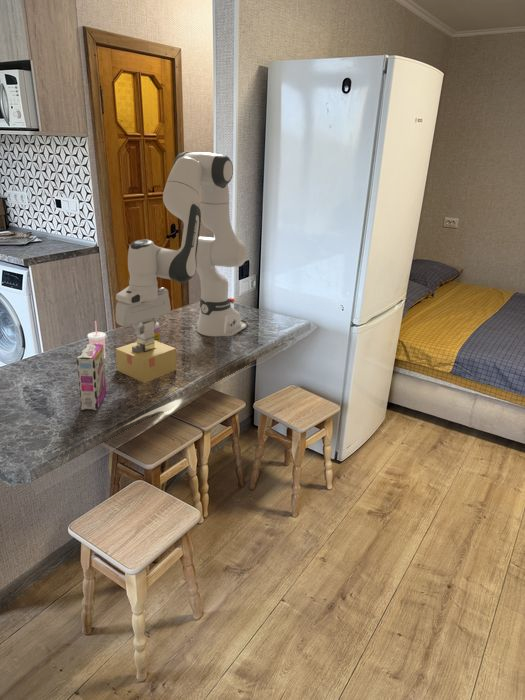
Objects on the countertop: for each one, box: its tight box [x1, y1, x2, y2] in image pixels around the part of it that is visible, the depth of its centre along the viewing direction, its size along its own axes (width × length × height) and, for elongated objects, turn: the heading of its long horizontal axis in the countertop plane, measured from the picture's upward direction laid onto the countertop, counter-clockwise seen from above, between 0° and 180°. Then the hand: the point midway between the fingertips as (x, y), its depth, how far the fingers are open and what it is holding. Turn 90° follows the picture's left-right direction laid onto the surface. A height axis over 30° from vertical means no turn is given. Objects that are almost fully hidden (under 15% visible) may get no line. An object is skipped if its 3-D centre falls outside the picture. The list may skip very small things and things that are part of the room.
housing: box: [115, 340, 177, 384], centre depth 164 cm, size 14×14×10 cm
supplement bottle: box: [150, 319, 161, 343], centre depth 181 cm, size 7×7×13 cm
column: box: [136, 320, 155, 352], centre depth 162 cm, size 4×4×16 cm
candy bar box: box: [76, 343, 107, 411], centre depth 140 cm, size 11×5×16 cm, turn 4°
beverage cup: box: [87, 320, 107, 360], centre depth 170 cm, size 6×6×14 cm
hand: (145, 332), depth 160 cm, fingers open, 4 cm apart
